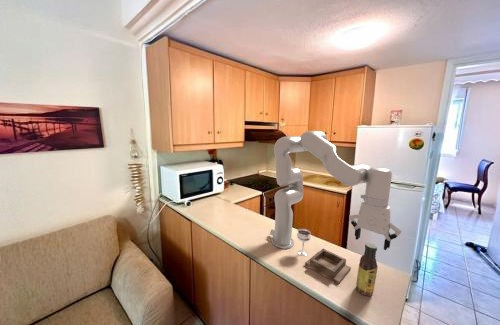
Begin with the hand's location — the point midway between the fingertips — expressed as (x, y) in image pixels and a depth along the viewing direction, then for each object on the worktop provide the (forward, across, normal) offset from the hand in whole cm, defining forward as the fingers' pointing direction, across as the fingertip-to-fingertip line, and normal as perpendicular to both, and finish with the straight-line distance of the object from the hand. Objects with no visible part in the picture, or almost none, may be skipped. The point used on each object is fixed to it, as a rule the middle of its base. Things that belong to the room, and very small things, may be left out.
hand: (371, 243), depth 78 cm
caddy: (+21, -17, +2) cm, 27 cm away
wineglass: (+21, -31, +3) cm, 37 cm away
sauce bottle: (+21, 0, 0) cm, 21 cm away
